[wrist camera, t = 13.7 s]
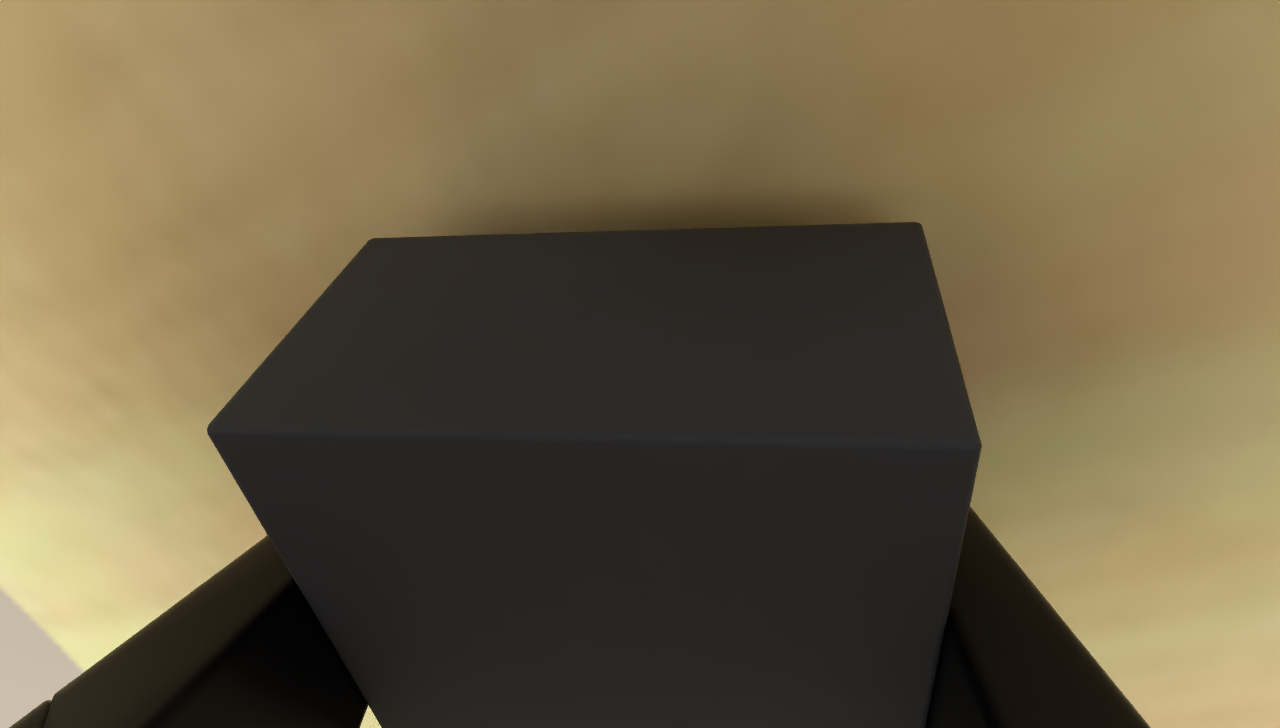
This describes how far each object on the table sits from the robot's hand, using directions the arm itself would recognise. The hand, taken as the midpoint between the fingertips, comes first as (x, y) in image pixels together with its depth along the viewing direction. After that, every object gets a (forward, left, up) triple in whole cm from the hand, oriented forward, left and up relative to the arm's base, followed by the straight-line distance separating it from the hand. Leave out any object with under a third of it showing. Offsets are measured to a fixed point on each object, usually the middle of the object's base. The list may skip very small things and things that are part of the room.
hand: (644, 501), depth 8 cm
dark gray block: (0, 0, -1) cm, 1 cm away
